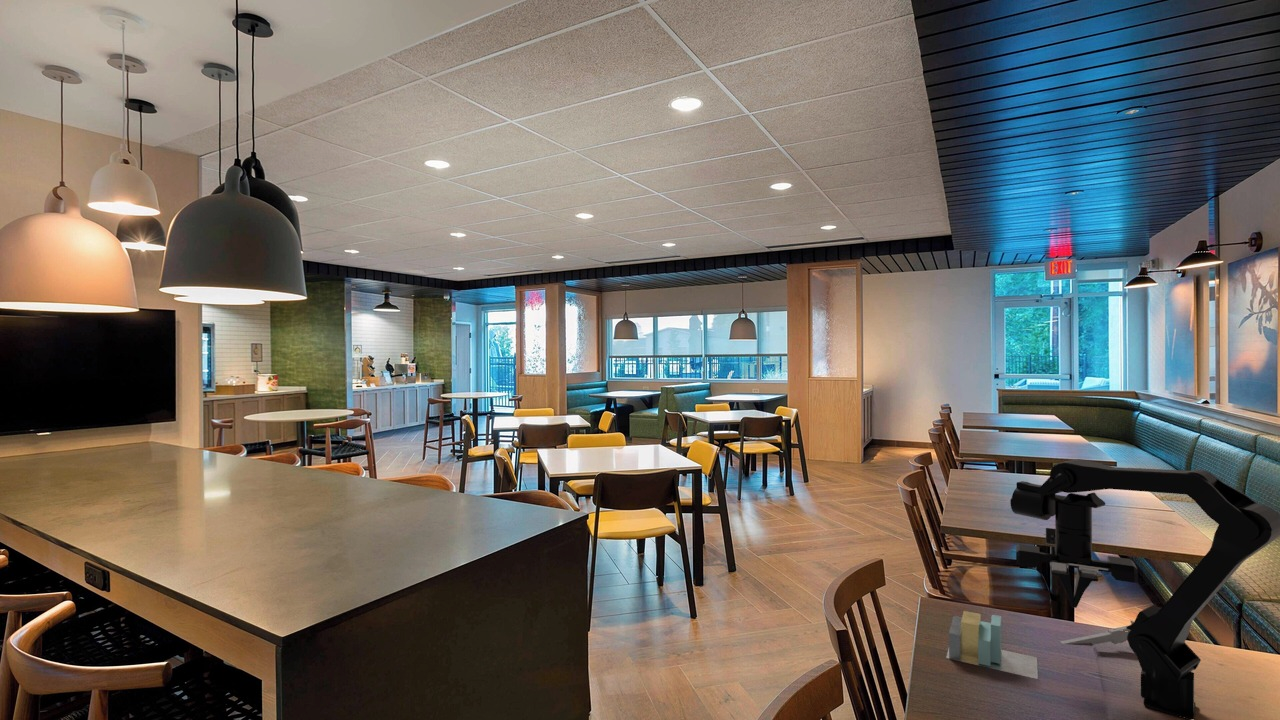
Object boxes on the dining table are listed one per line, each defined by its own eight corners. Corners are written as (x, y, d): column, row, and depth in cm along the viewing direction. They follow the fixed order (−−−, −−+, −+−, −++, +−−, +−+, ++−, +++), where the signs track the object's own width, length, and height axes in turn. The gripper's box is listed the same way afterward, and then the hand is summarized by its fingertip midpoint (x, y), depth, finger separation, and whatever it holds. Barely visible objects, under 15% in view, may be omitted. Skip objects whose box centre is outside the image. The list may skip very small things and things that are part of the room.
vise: (1037, 665, 118) (1036, 632, 118) (1037, 687, 111) (1037, 651, 111) (951, 646, 126) (950, 615, 126) (946, 665, 119) (945, 632, 119)
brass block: (980, 648, 122) (980, 614, 122) (978, 661, 117) (978, 625, 117) (964, 644, 124) (963, 610, 124) (961, 657, 119) (960, 622, 119)
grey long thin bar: (1143, 648, 125) (1143, 618, 124) (1147, 651, 123) (1147, 620, 123) (1043, 650, 125) (1043, 619, 125) (1047, 652, 124) (1047, 622, 123)
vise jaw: (1001, 648, 121) (1001, 612, 121) (1000, 668, 114) (999, 630, 114) (981, 643, 123) (980, 608, 123) (978, 663, 116) (977, 626, 116)
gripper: (1129, 522, 118) (1129, 601, 118) (1016, 510, 128) (1017, 583, 128) (1138, 537, 109) (1138, 624, 109) (1015, 523, 119) (1016, 602, 119)
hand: (1073, 606), depth 117 cm, fingers closed
